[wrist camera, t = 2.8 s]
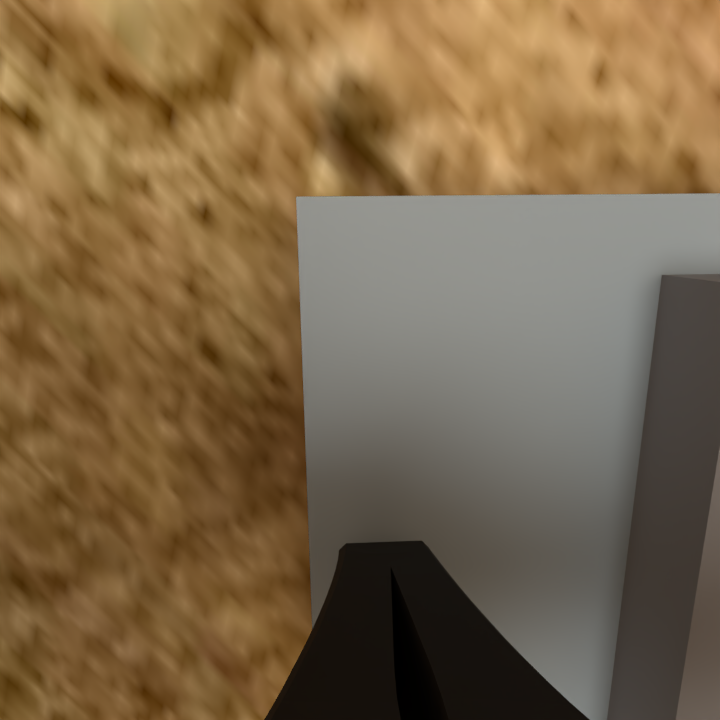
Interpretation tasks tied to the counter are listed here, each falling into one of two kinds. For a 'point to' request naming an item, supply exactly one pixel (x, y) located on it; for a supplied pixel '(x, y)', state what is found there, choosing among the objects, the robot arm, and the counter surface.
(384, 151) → the counter surface
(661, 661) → the lid
